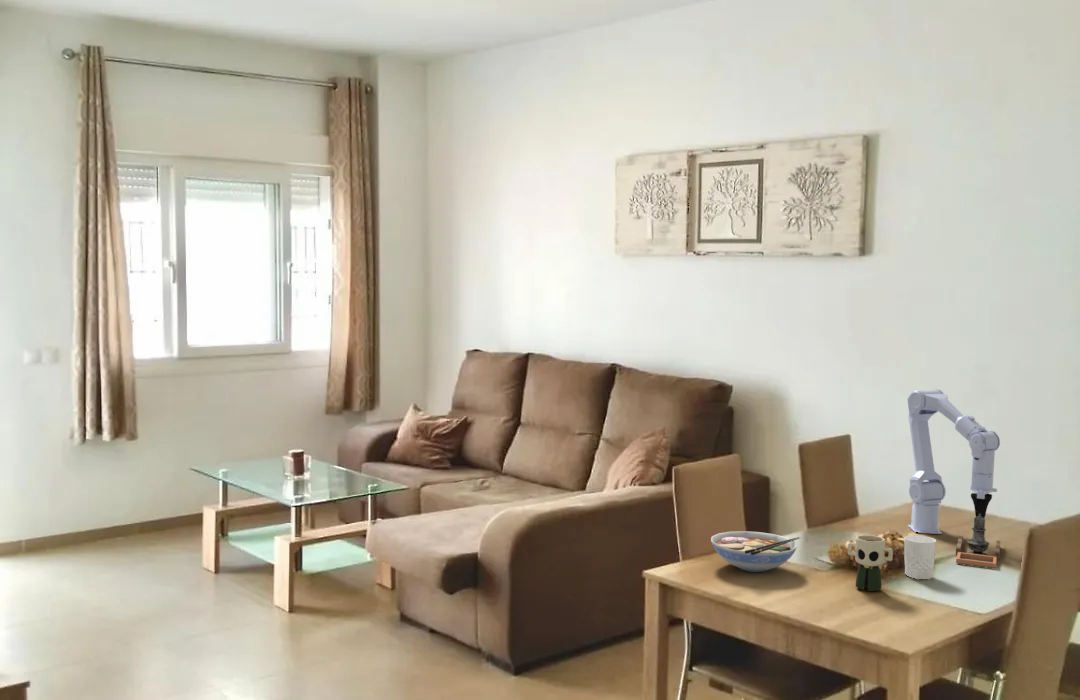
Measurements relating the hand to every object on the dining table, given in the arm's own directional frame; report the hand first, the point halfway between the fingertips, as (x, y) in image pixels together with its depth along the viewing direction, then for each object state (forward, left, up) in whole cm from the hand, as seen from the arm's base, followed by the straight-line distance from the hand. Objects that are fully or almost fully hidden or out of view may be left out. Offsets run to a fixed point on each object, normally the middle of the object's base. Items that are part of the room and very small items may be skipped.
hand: (980, 518), depth 298 cm
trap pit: (+17, -6, -9) cm, 20 cm away
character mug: (+47, -42, -9) cm, 64 cm away
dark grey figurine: (+8, -3, -9) cm, 12 cm away
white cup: (+33, -26, -9) cm, 43 cm away
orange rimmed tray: (+4, -1, -9) cm, 10 cm away
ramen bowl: (+33, -69, -9) cm, 77 cm away
